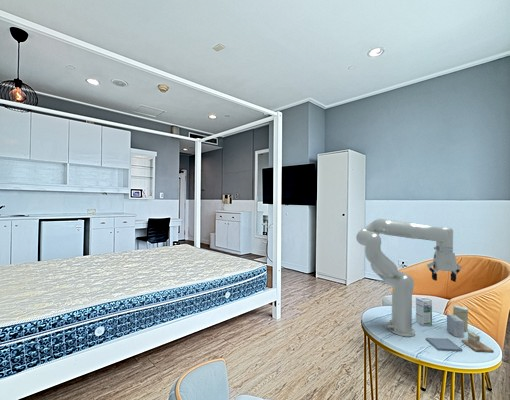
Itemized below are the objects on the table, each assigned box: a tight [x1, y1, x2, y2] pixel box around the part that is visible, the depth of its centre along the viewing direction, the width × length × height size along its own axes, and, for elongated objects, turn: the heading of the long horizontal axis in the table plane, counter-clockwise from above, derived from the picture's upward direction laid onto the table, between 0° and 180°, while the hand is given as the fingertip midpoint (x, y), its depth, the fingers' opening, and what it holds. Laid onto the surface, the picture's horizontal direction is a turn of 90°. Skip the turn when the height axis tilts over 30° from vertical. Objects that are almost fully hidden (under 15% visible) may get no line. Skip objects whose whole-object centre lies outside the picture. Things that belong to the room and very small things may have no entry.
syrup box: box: [415, 296, 433, 327], centre depth 152 cm, size 6×6×14 cm
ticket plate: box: [425, 337, 463, 353], centre depth 128 cm, size 11×10×1 cm
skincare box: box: [452, 304, 469, 333], centre depth 146 cm, size 6×4×12 cm
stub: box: [461, 331, 494, 353], centre depth 127 cm, size 8×9×6 cm
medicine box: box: [446, 314, 465, 338], centre depth 140 cm, size 8×4×9 cm, turn 168°
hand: (443, 280), depth 144 cm, fingers open, 9 cm apart
